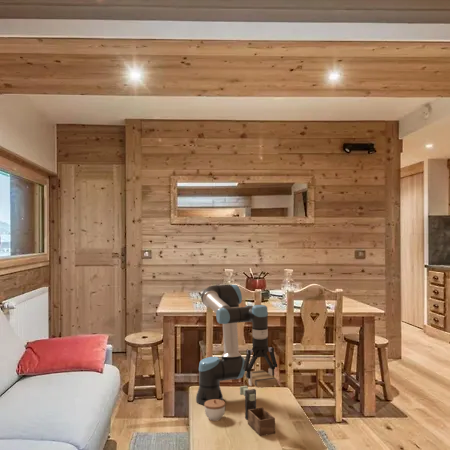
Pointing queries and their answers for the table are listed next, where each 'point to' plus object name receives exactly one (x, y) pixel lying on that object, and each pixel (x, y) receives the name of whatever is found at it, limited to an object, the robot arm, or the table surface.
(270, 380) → the lid
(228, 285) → the robot arm
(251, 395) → the bolt
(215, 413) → the lidded jar
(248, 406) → the keeper
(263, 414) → the open wooden box
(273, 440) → the table surface
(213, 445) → the table surface
